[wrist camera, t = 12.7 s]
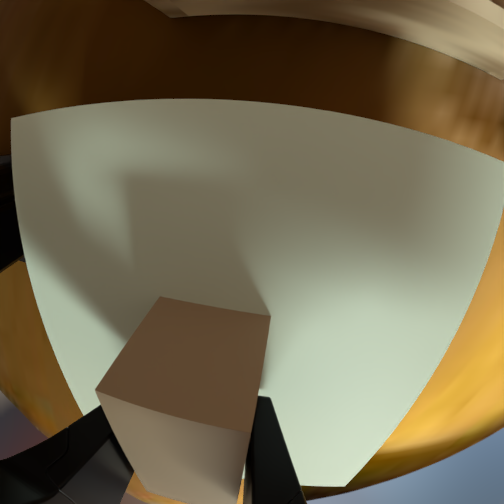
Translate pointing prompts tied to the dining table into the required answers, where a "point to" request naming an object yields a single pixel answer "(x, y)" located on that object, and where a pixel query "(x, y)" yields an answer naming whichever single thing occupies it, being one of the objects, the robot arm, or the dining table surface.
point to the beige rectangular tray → (385, 21)
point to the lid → (247, 275)
